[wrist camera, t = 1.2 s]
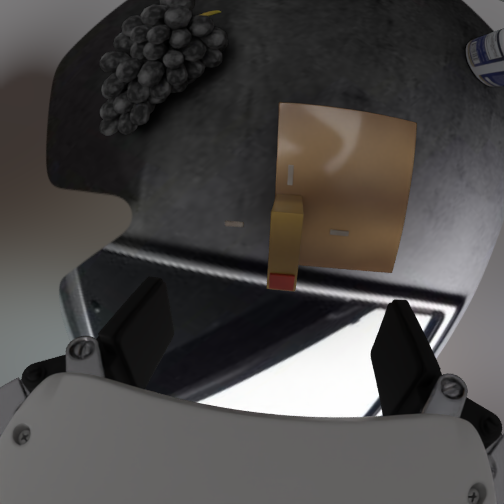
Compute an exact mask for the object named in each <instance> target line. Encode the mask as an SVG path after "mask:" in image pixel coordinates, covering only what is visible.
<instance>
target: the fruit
mask: <svg viewBox="0 0 504 504" xmlns="http://www.w3.org/2000/svg"><path fill="white" fill-rule="evenodd" d="M160 4H161V5H152V6H149V7H147V8H145V9H144V11H143V12H142V13H141V16H138V15H136V16H130V17H129V18H128V19H127V20H126V21H124V22H123V25H122V33H120V34H119V35H118V36H117V37H116V38H115V40H114V44H113V45H114V47H115V49H116V51H111V52H108V53H105V54H104V55H103V56H102V58H101V61H100V67H101V69H102V70H103V71H105V72H113V74H112V75H111V76H110V77H109V78H107V79H106V80H105V81H104V83H103V85H102V89H101V91H102V94H103V96H104V97H105V98H108V101H107V102H106V103H105V104H103V106H102V107H101V109H100V114H101V117H102V118H103V119H104V120H103V121H101V123H100V128H99V129H100V131H101V133H102V134H104V135H106V136H110V135H112V134H114V133H116V132H117V130H119V131H120V132H121V133H123V134H125V135H127V134H131V133H133V132H134V131H135V130H136V128H137V125H143V124H145V123H147V121H148V120H149V116H150V113H152V112H153V110H154V108H155V105H156V104H158V103H162V102H164V101H166V99H167V97H168V95H170V92H171V93H176V92H182V91H184V90H185V88H186V87H187V84H189V83H192V82H194V80H195V79H196V78H198V77H200V76H201V75H202V74H203V73H204V70H205V67H211V68H212V67H216V66H218V65H219V64H220V63H221V62H222V53H221V51H223V50H224V49H225V48H226V47H227V46H228V41H227V34H226V32H225V31H223V30H221V29H220V28H217V27H215V26H214V23H213V20H212V19H211V18H209V17H208V16H211V15H214V14H218V13H221V11H211V12H206V13H203V14H200V15H196V16H192V12H191V10H192V9H193V8H194V6H195V0H160Z"/></svg>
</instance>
